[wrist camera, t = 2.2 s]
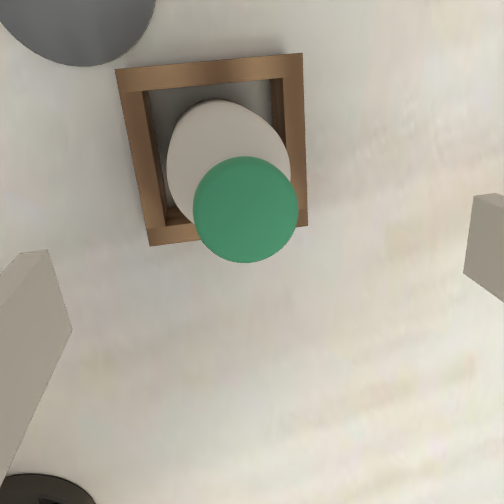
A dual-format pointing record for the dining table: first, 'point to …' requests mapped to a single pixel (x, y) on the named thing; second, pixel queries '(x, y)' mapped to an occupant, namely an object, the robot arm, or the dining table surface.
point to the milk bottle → (232, 180)
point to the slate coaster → (77, 27)
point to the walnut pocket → (195, 74)
